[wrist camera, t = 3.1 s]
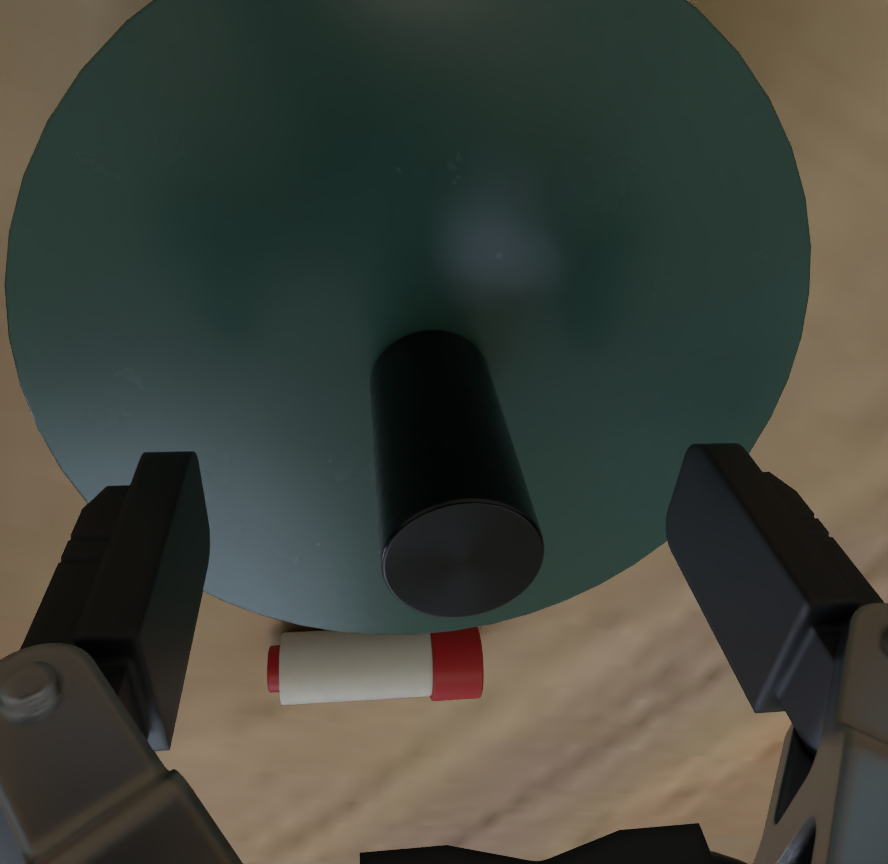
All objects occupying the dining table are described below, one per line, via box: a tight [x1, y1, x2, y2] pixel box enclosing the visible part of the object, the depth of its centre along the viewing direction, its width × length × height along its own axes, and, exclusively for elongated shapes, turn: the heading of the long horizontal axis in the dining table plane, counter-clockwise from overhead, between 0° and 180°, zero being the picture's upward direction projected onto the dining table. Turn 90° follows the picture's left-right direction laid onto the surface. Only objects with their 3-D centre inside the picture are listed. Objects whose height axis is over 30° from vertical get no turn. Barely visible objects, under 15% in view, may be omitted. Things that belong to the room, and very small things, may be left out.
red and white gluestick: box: [267, 627, 483, 705], centre depth 30 cm, size 8×3×3 cm, turn 86°
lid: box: [5, 0, 811, 635], centre depth 13 cm, size 15×15×6 cm
